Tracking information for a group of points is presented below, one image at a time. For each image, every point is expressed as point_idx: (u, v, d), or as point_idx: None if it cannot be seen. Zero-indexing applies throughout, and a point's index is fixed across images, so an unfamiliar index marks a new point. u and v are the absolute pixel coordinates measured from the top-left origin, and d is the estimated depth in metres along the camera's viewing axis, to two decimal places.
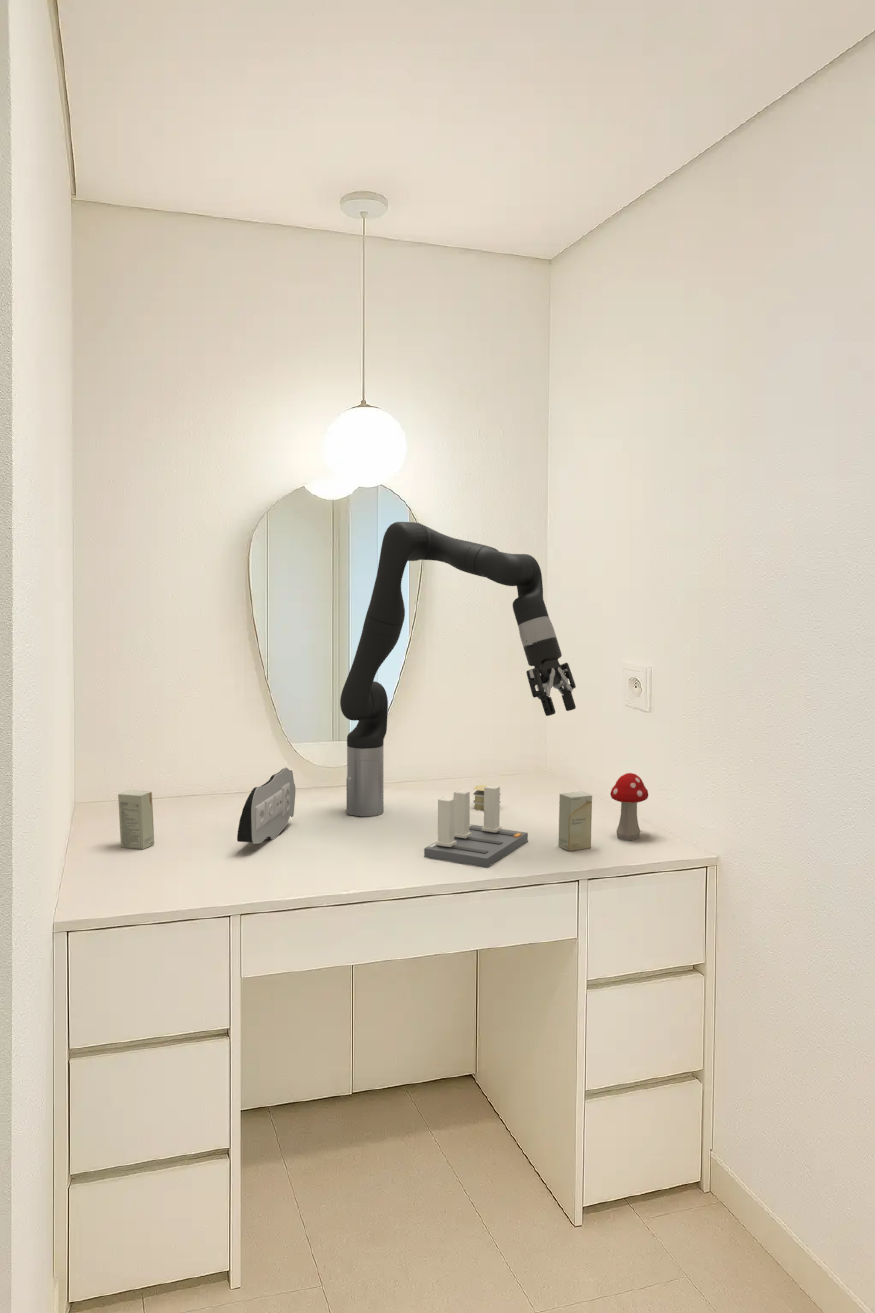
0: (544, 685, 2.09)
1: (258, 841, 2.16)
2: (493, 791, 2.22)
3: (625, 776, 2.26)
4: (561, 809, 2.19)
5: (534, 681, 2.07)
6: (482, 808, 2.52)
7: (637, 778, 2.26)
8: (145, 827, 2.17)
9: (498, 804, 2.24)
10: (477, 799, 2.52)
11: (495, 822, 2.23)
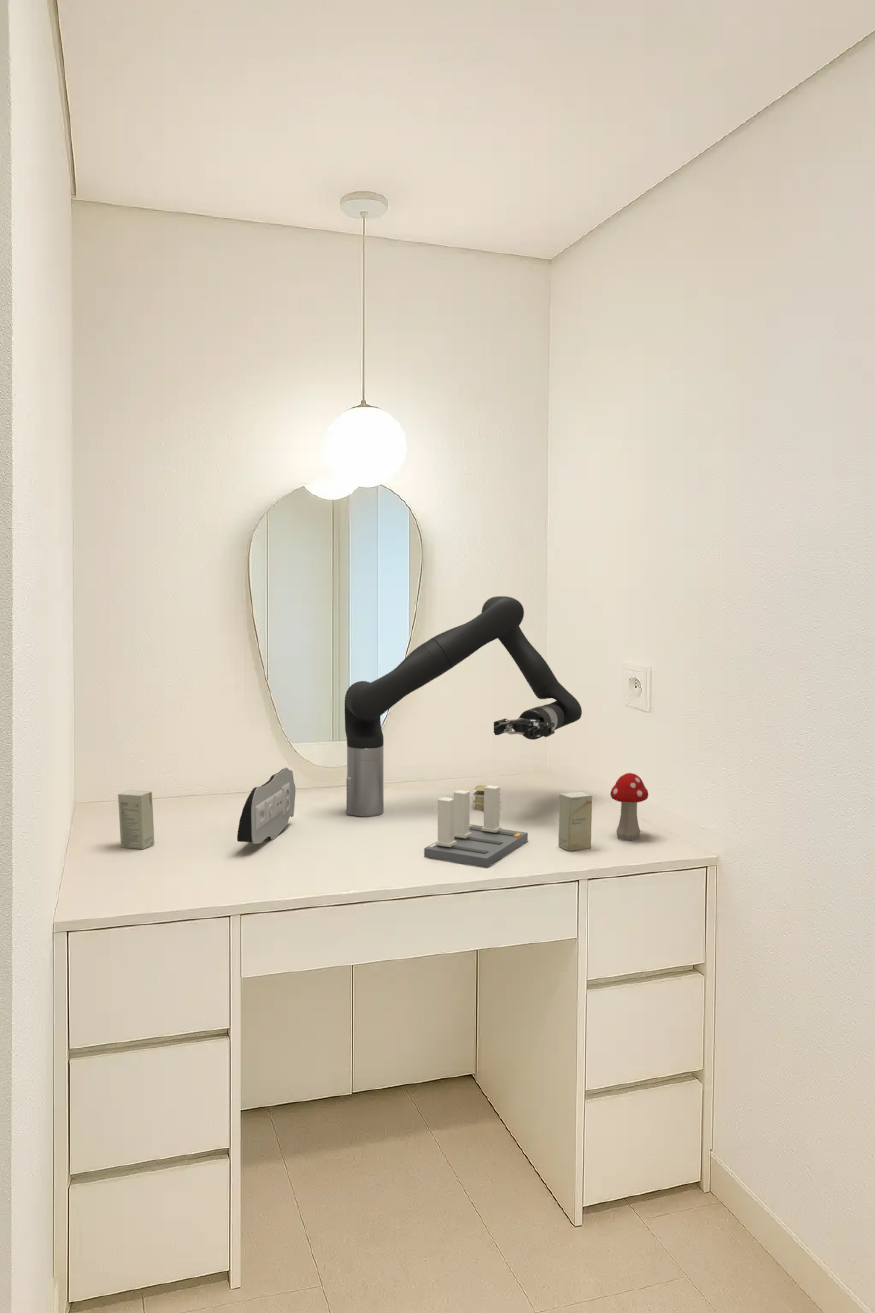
0: None
1: (258, 841, 2.16)
2: (493, 791, 2.22)
3: (625, 776, 2.26)
4: (561, 809, 2.19)
5: (551, 730, 2.36)
6: (482, 808, 2.52)
7: (637, 778, 2.26)
8: (145, 827, 2.17)
9: (498, 804, 2.24)
10: (477, 799, 2.52)
11: (495, 822, 2.23)
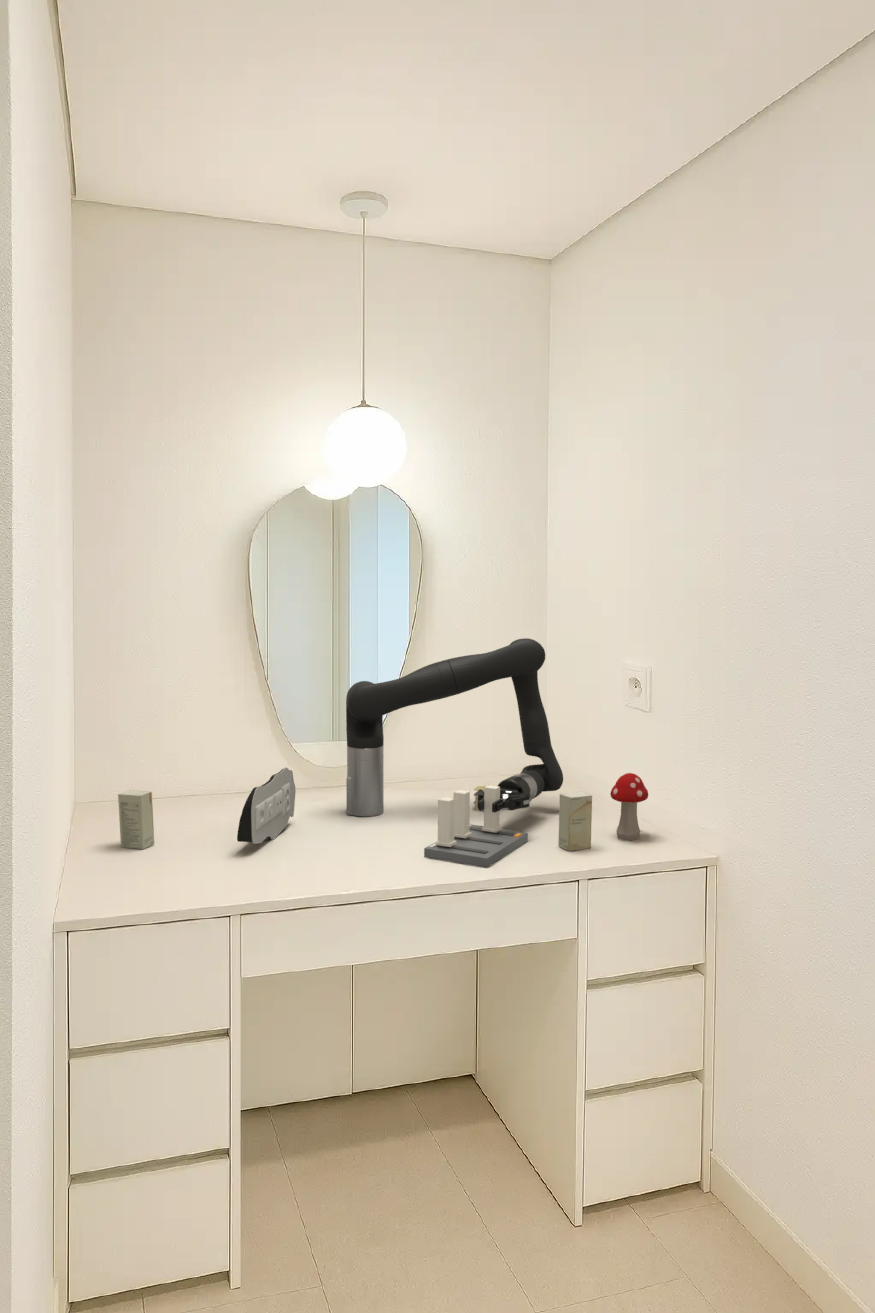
0: None
1: (258, 841, 2.16)
2: (493, 791, 2.22)
3: (625, 776, 2.26)
4: (561, 809, 2.19)
5: (521, 804, 2.25)
6: None
7: (637, 778, 2.26)
8: (145, 827, 2.17)
9: None
10: None
11: (495, 823, 2.23)
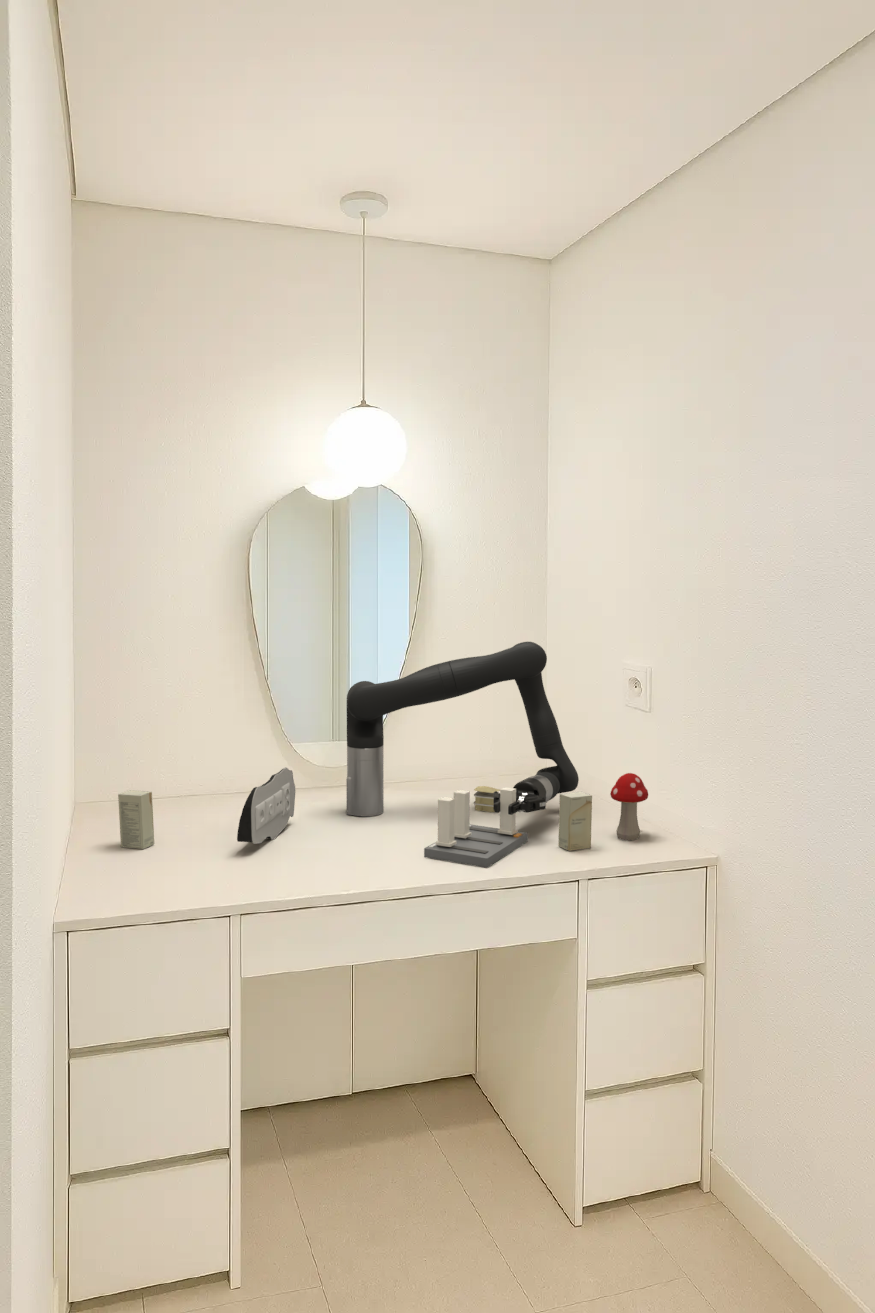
0: None
1: (258, 841, 2.16)
2: (509, 793, 2.20)
3: (625, 776, 2.26)
4: (561, 809, 2.19)
5: (537, 806, 2.23)
6: (482, 809, 2.51)
7: (637, 778, 2.26)
8: (145, 827, 2.17)
9: None
10: (478, 800, 2.51)
11: (511, 825, 2.21)
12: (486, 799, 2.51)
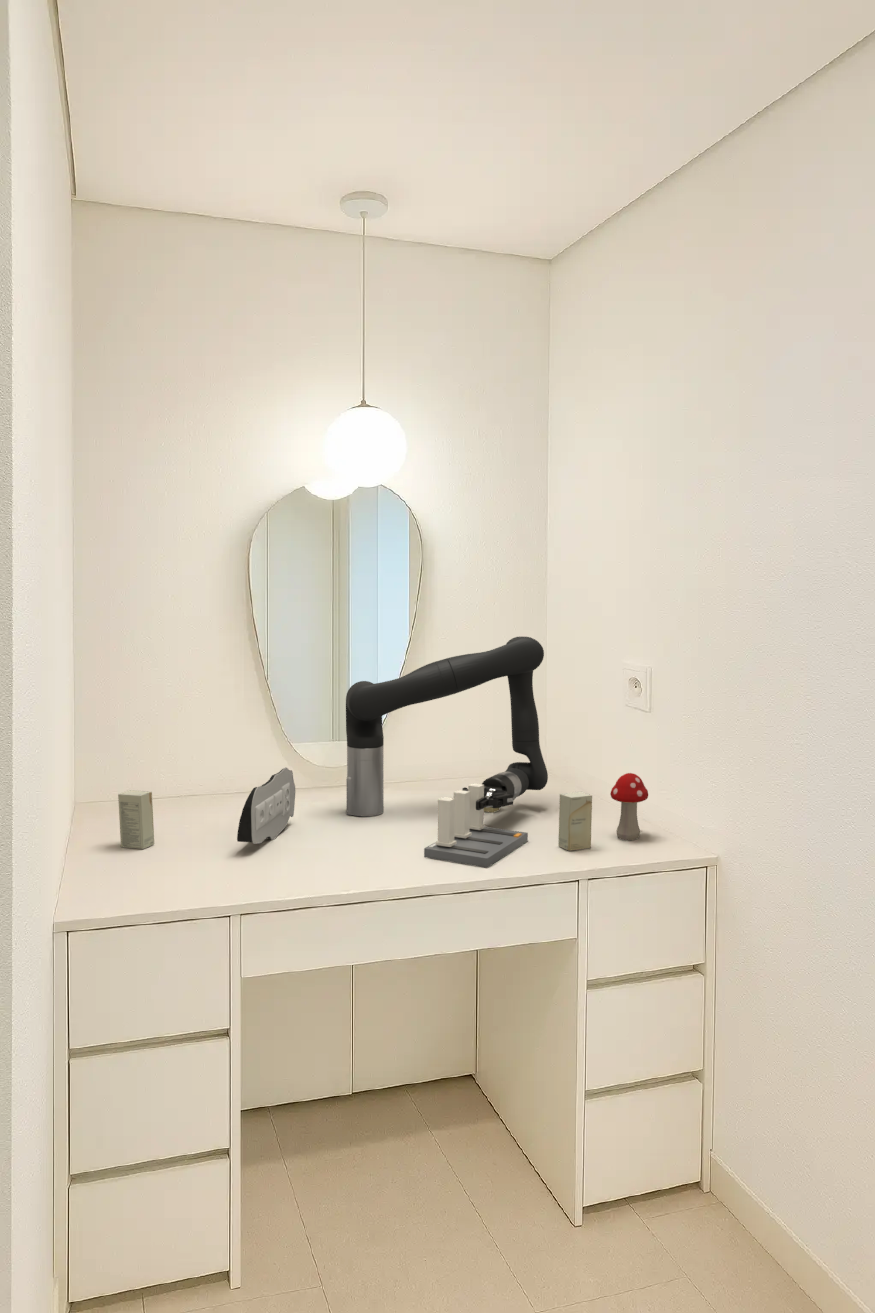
0: None
1: (258, 841, 2.16)
2: (477, 789, 2.24)
3: (625, 776, 2.26)
4: (561, 809, 2.19)
5: (505, 801, 2.27)
6: None
7: (637, 778, 2.26)
8: (145, 827, 2.17)
9: None
10: None
11: (479, 820, 2.25)
12: None
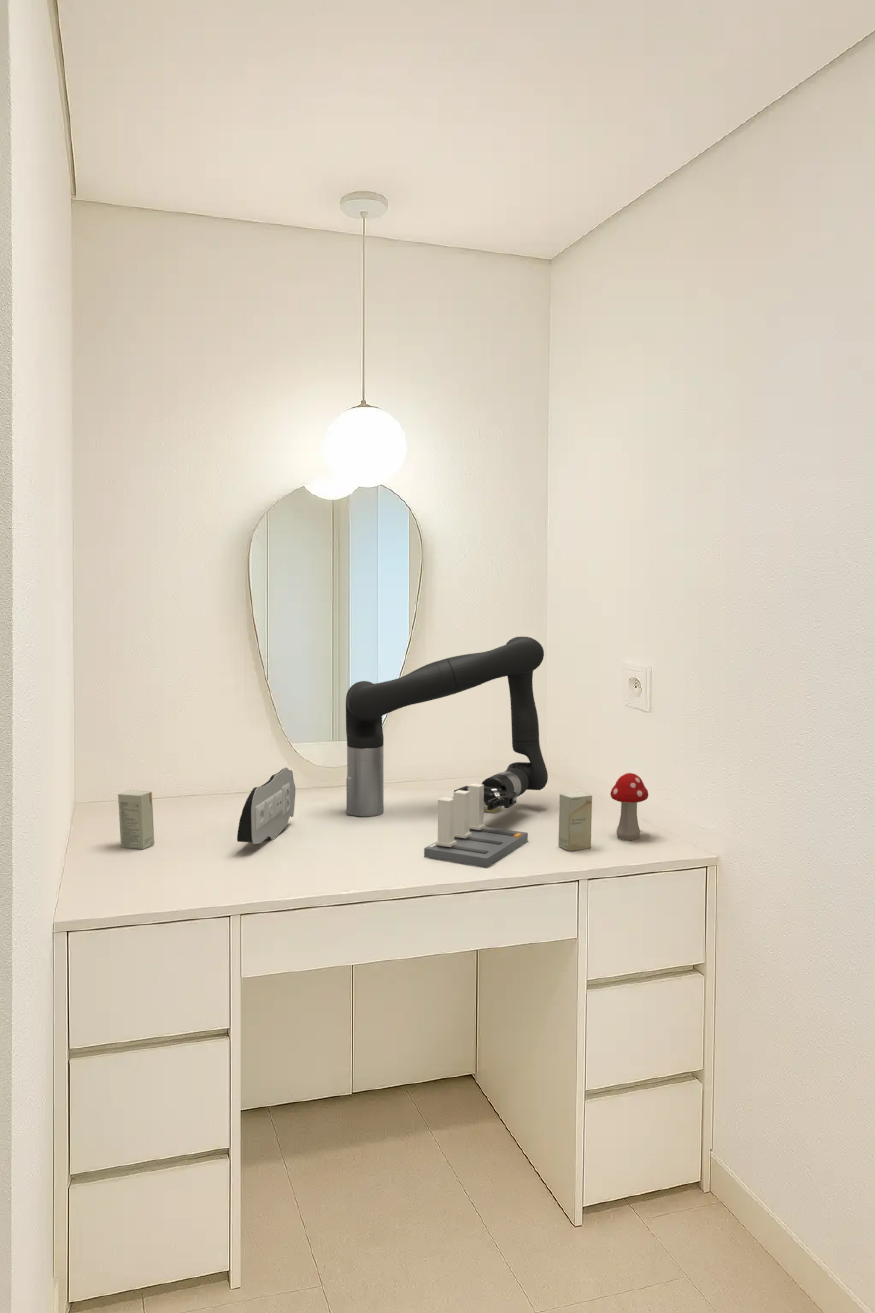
0: None
1: (258, 841, 2.16)
2: (477, 789, 2.24)
3: (625, 776, 2.26)
4: (561, 809, 2.19)
5: (513, 801, 2.28)
6: None
7: (637, 778, 2.26)
8: (145, 827, 2.17)
9: (482, 802, 2.26)
10: None
11: (479, 820, 2.25)
12: None
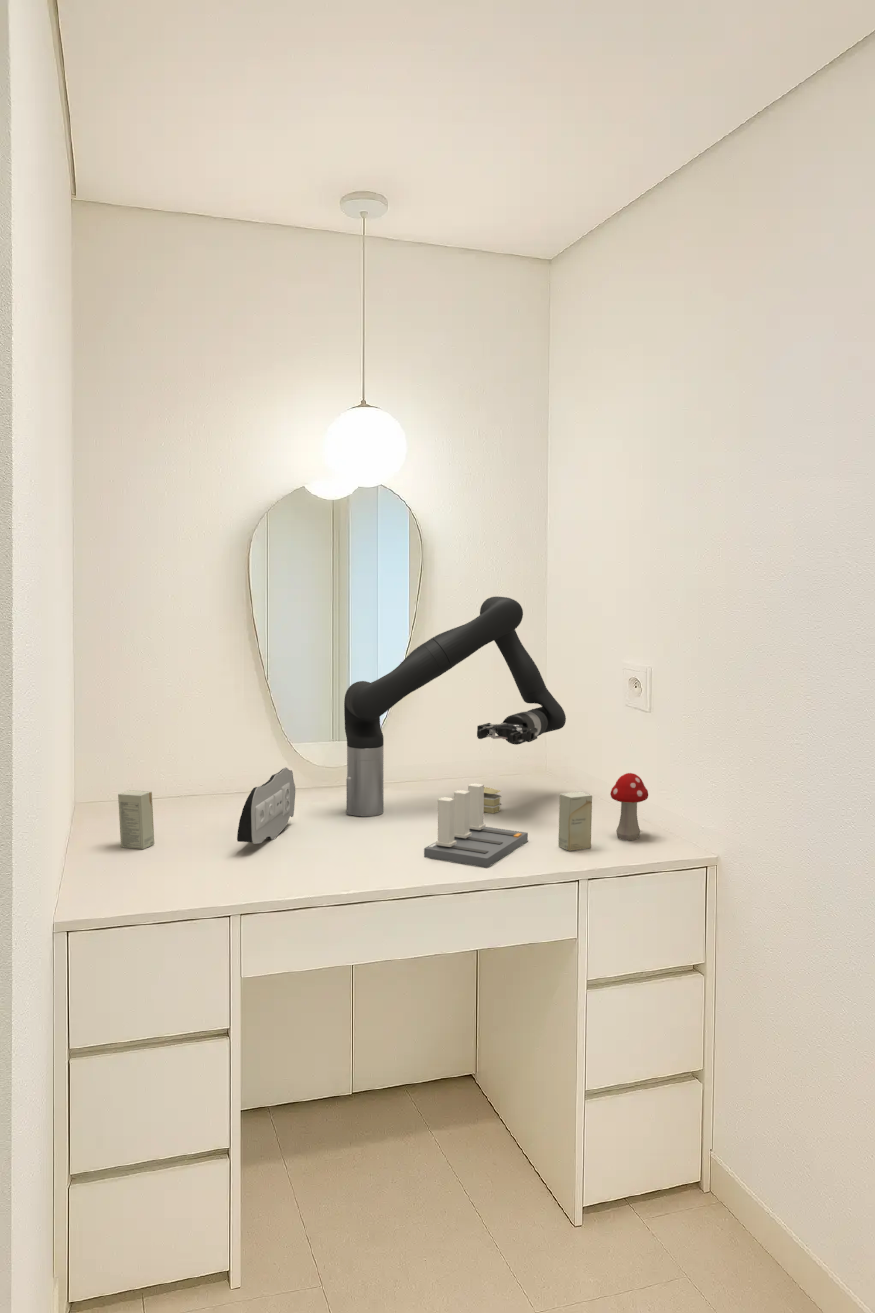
0: None
1: (258, 841, 2.16)
2: (477, 789, 2.24)
3: (625, 776, 2.26)
4: (561, 809, 2.19)
5: (534, 735, 2.38)
6: None
7: (637, 778, 2.26)
8: (145, 827, 2.17)
9: (482, 802, 2.26)
10: None
11: (479, 820, 2.25)
12: (486, 800, 2.49)
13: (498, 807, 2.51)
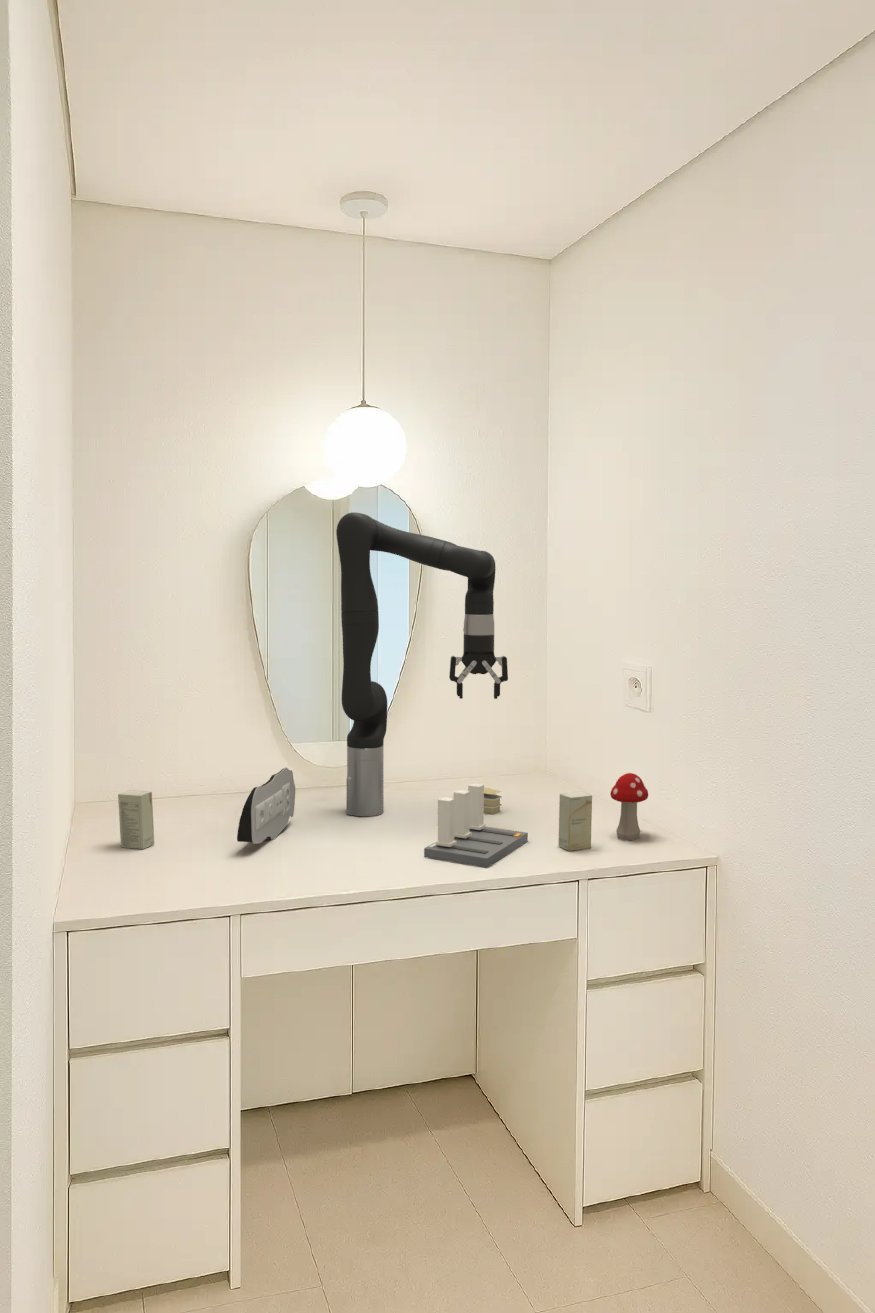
0: None
1: (258, 841, 2.16)
2: (477, 789, 2.24)
3: (625, 776, 2.26)
4: (561, 810, 2.19)
5: None
6: None
7: (637, 778, 2.26)
8: (145, 827, 2.17)
9: (482, 802, 2.26)
10: None
11: (479, 820, 2.25)
12: (487, 801, 2.49)
13: (498, 808, 2.50)
